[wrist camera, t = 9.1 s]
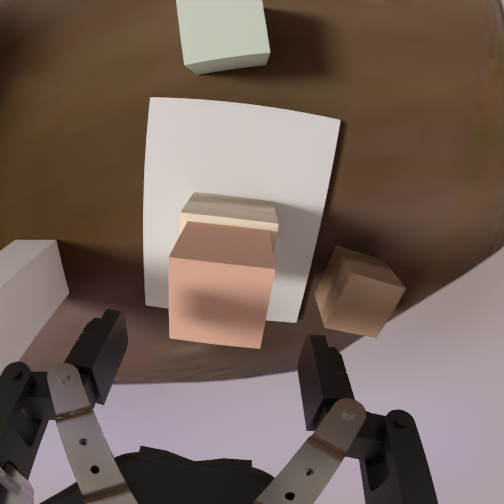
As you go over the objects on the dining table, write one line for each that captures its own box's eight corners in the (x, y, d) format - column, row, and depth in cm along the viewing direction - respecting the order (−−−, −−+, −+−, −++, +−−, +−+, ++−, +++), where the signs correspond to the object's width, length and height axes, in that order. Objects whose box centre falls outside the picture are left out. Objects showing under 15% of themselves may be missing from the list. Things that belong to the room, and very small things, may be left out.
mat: (152, 97, 20) (150, 97, 20) (338, 120, 21) (340, 120, 21) (147, 301, 28) (145, 305, 27) (295, 318, 29) (296, 322, 28)
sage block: (190, 17, 18) (175, -5, 13) (257, 7, 18) (258, -18, 13) (197, 75, 20) (184, 65, 15) (265, 65, 20) (270, 52, 15)
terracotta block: (187, 220, 19) (168, 256, 14) (269, 230, 19) (275, 269, 15) (184, 290, 21) (169, 338, 16) (258, 298, 21) (260, 348, 17)
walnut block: (335, 244, 26) (352, 273, 21) (383, 259, 26) (405, 288, 22) (313, 293, 28) (324, 327, 23) (360, 304, 28) (376, 337, 24)
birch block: (193, 192, 23) (180, 212, 19) (272, 201, 23) (278, 224, 19) (189, 262, 26) (177, 295, 21) (261, 271, 26) (263, 305, 21)
